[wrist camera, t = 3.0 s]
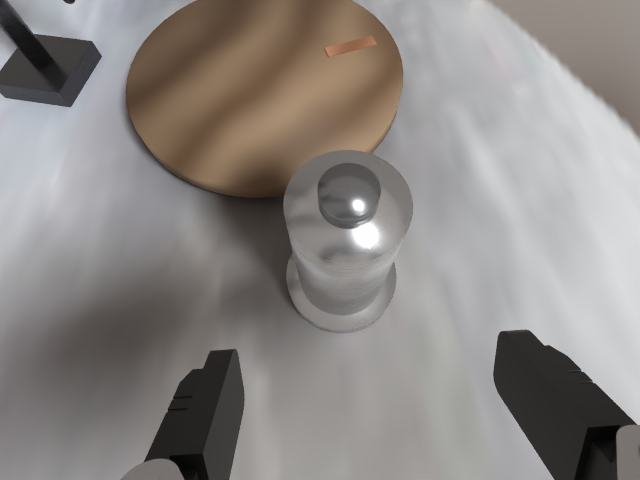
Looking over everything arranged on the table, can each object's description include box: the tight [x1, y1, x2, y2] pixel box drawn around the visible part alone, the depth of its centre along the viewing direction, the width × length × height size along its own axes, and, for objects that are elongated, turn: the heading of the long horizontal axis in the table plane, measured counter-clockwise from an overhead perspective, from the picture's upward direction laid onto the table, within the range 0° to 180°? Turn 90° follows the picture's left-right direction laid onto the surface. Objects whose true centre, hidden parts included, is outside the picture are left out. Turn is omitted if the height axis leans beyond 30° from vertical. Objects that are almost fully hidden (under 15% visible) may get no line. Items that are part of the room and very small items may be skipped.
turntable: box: [126, 0, 403, 198], centre depth 29 cm, size 21×21×2 cm
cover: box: [283, 150, 413, 333], centre depth 19 cm, size 7×7×11 cm
